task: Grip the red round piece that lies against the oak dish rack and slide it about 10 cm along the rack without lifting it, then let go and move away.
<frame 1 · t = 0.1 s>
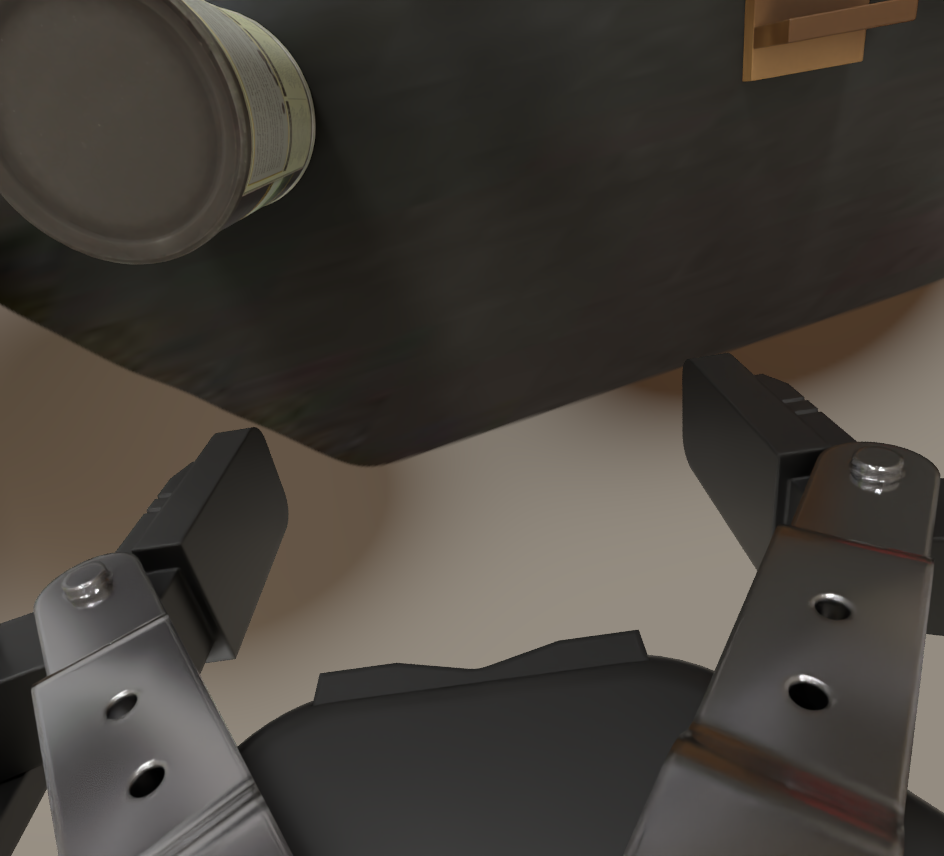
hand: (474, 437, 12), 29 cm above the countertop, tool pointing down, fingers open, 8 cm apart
coffee can: (227, 115, 35), on the countertop
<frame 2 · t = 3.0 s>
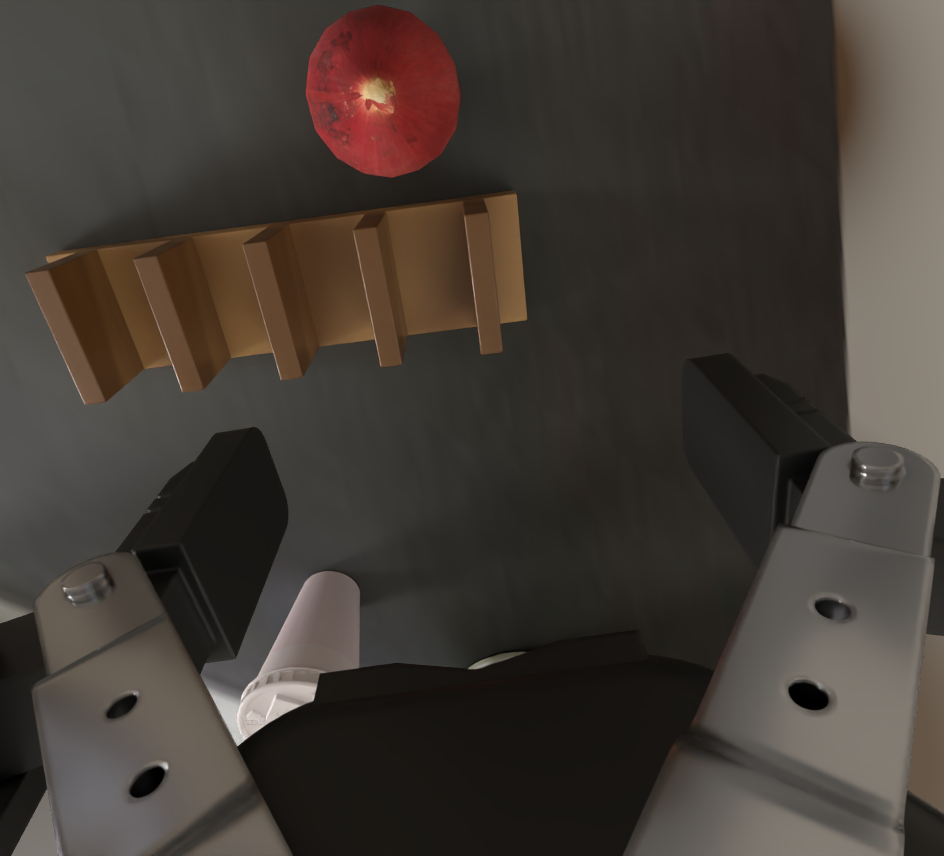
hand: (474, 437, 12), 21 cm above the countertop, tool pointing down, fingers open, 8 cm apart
coffee can: (516, 697, 46), on the countertop
red round piece: (392, 97, 27), on the countertop
dish rack: (300, 283, 31), on the countertop
smoothie: (331, 591, 40), on the countertop
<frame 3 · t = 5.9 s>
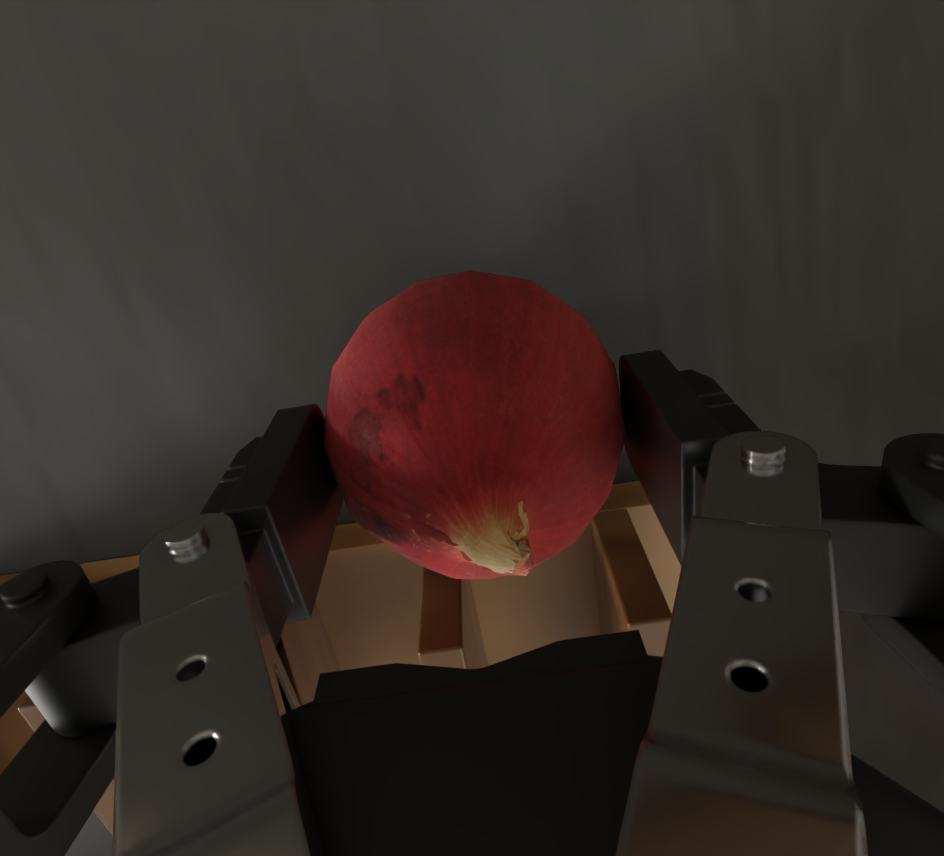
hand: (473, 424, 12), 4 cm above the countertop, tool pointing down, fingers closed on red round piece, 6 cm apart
red round piece: (469, 352, 16), on the countertop, touching gripper
dish rack: (318, 607, 19), on the countertop
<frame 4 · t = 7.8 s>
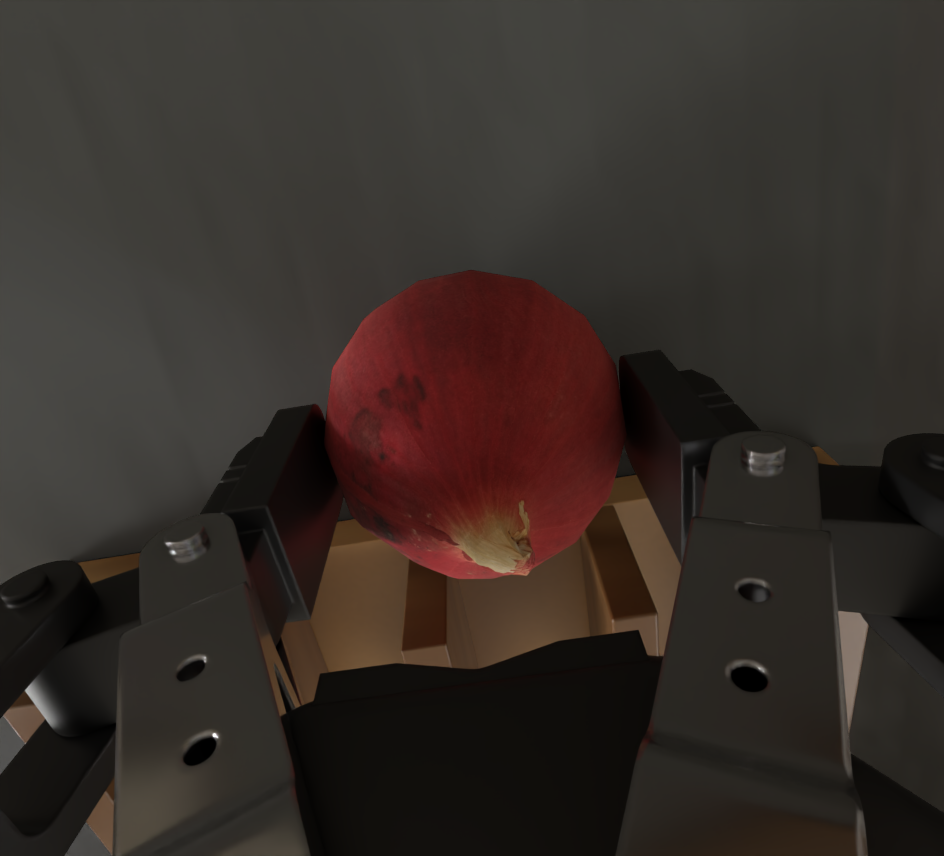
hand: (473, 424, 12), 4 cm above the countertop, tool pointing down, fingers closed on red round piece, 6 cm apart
red round piece: (469, 352, 16), on the countertop, touching gripper
dish rack: (448, 585, 19), on the countertop
when the fingers open (4 cm above the countertop, at t = 9.7 s): red round piece stays where it is, on the countertop.
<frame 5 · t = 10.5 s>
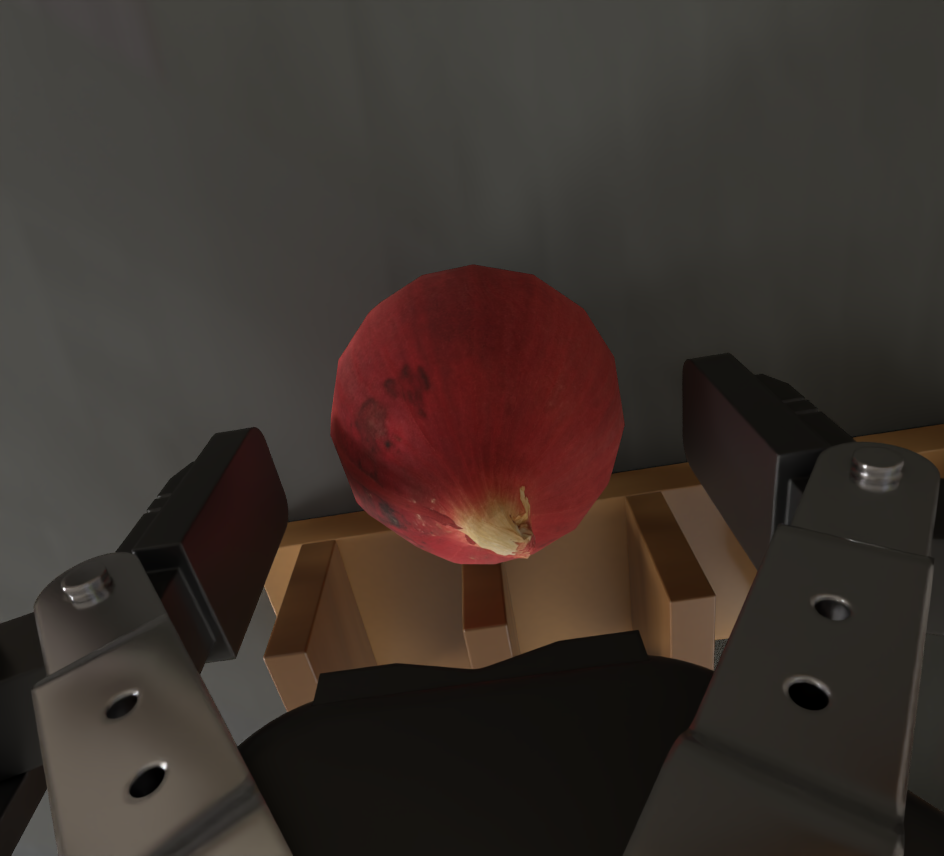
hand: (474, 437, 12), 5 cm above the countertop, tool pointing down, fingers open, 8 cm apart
red round piece: (471, 346, 16), on the countertop
dish rack: (635, 551, 19), on the countertop
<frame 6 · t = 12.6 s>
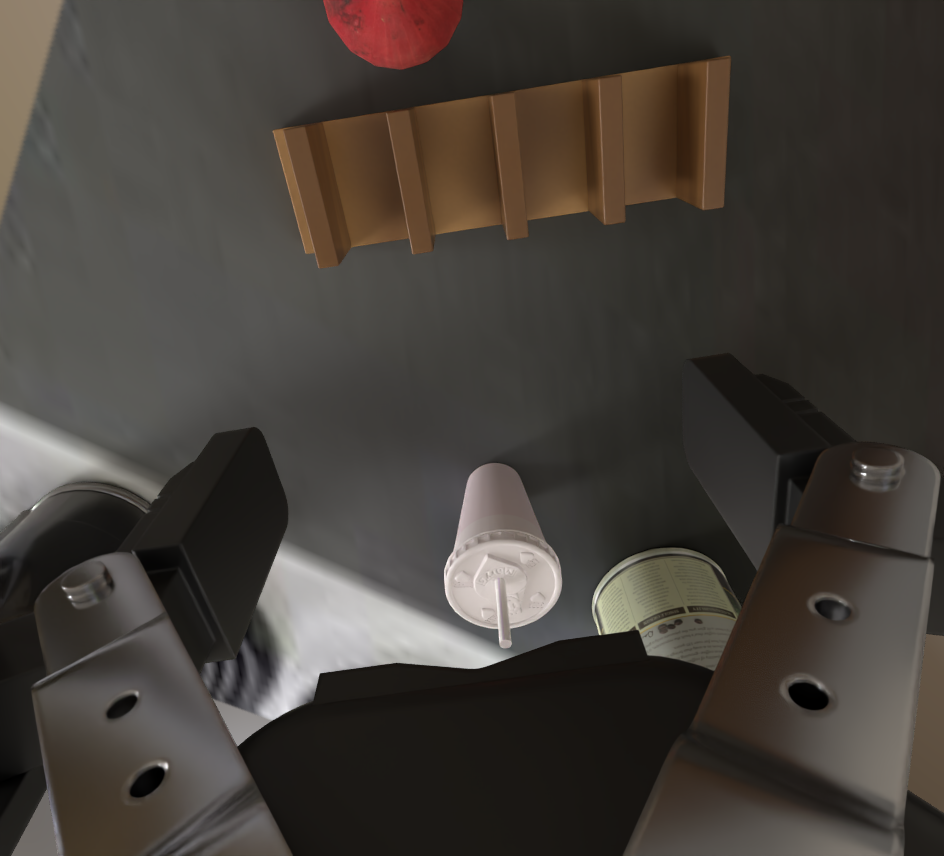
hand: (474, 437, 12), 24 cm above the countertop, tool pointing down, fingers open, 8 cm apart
coffee can: (658, 597, 47), on the countertop
red round piece: (400, 0, 29), on the countertop
dish rack: (503, 158, 32), on the countertop
smoothie: (494, 484, 42), on the countertop
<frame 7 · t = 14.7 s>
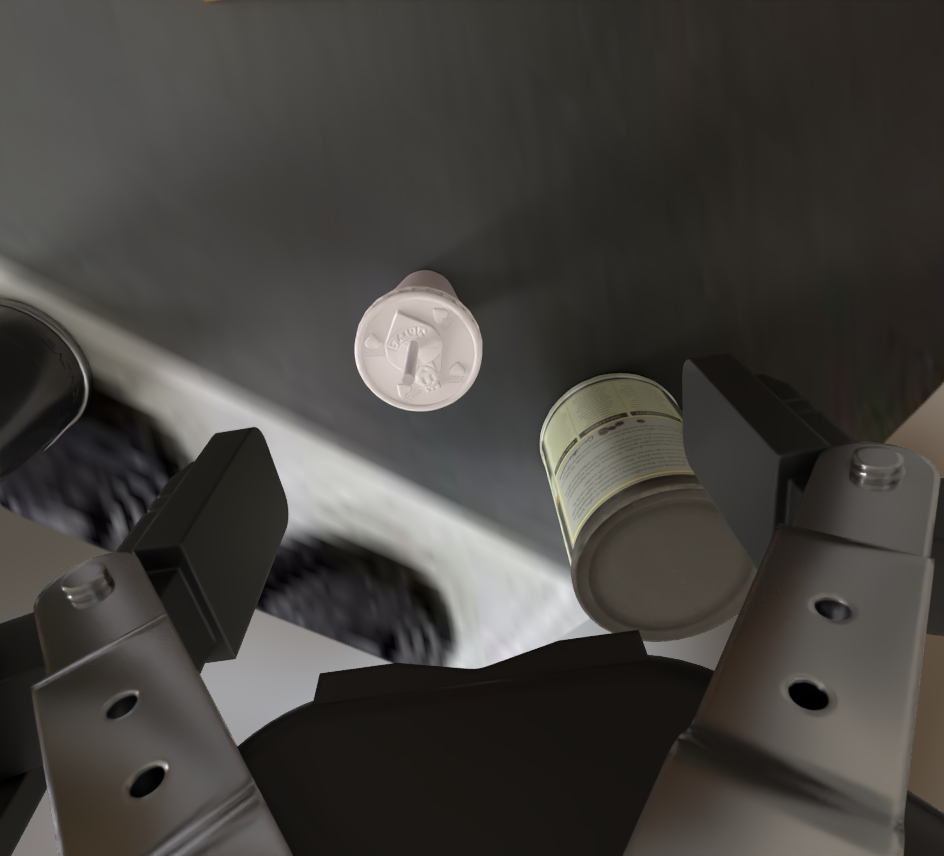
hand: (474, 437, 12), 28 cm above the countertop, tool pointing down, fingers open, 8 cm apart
coffee can: (610, 436, 44), on the countertop
smoothie: (426, 298, 39), on the countertop
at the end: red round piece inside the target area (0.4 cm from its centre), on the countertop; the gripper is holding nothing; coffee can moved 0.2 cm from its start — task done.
